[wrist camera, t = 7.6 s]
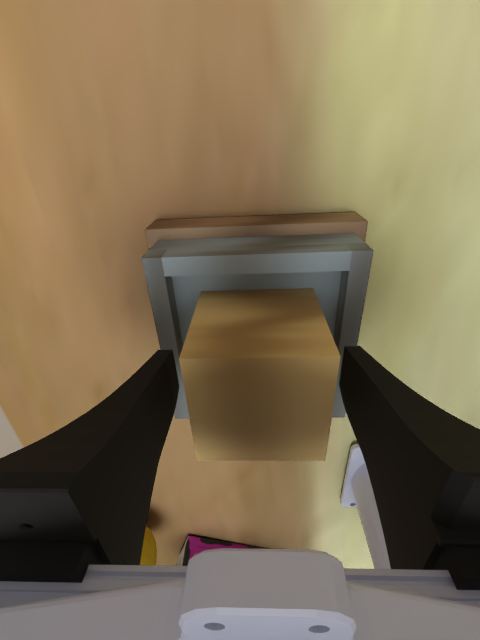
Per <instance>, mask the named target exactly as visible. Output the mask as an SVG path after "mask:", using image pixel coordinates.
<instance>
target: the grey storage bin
mask: <svg viewBox="0 0 480 640" xmlns="http://www.w3.org/2000/svg"><path fill="white" fill-rule="evenodd" d="M367 224H368V221H367V220H366V219H364V218H363V217H361V216H360V215H359V214H357V213H356V212H336V213H311V214H286V215H260V216H235V217H210V218H185V219H160V220H155V221H154V222H153V223H152V224H151V225H150V226H149V227H147V228H146V229H145V233H146V238H147V243H148V248H149V250H148V251H147V253H146V254H145V255H144V256H143V257H142V258H141V259H142V264H143V269H144V273H145V278H146V283H147V287H148V292H149V297H150V302H151V306H152V311H153V316H154V321H155V325H156V330H157V335H158V339H159V344H160V349H161V350H173V354H174V360H175V365H176V370H177V375H178V381H179V392H178V398H177V403H176V408H175V411H174V415H175V419H190V418H189V413H188V407H187V401H186V396H185V390H184V384H183V379H182V373H181V367H180V361H179V357H180V354H181V351H182V348H183V345H184V342H185V339H186V336H187V333H188V330H189V327H190V324H191V320H192V317H193V314H194V311H195V308H196V305H197V302H198V299H199V296H200V293H201V291H222V290H260V289H299V288H313V289H314V292H315V294H316V297H317V299H318V302H319V304H320V307H321V309H322V312H323V314H324V317H325V319H326V322H327V324H328V327H329V329H330V332H331V334H332V337H333V339H334V341H335V344H336V346H337V349H338V351H339V354H340V356H341V357H340V363H339V370H338V377H337V384H336V391H335V397H334V404H333V411H332V417H345V412H346V410H345V407H344V404H343V400H342V396H341V392H340V387H339V379H340V373H341V366H342V359H343V352H344V346H357V342H358V336H359V331H360V325H361V319H362V313H363V307H364V302H365V296H366V290H367V284H368V279H369V273H370V267H371V261H372V255H373V250H372V249H371V248H370V247H369V246H368V245H367V244H366V243H365V236H366V230H367Z"/></svg>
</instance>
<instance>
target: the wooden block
mask: <svg viewBox="0 0 480 640" xmlns="http://www.w3.org/2000/svg"><path fill="white" fill-rule="evenodd" d="M340 357H341V356H340V354H339V351H338V349H337V346H336V344H335V341H334V339H333V337H332V334H331V332H330V329H329V327H328V324H327V322H326V319H325V317H324V314H323V312H322V309H321V307H320V304H319V302H318V299H317V297H316V294H315V292H314V289H313V288H299V289H260V290H222V291H201V293H200V296H199V299H198V302H197V305H196V308H195V311H194V314H193V317H192V320H191V324H190V327H189V330H188V333H187V336H186V339H185V342H184V345H183V348H182V351H181V354H180V357H179V361H180V367H181V373H182V379H183V384H184V390H185V396H186V401H187V407H188V413H189V418H190V424H191V430H192V436H193V441H194V447H195V453H196V458H197V460H325V459H326V452H327V445H328V438H329V431H330V425H331V418H332V411H333V404H334V397H335V391H336V384H337V377H338V370H339V363H340Z"/></svg>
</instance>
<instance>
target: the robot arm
mask: <svg viewBox="0 0 480 640" xmlns="http://www.w3.org/2000/svg"><path fill="white" fill-rule="evenodd" d="M339 387H340V392H341V396H342V400H343V404H344V407H345V410H346V413H347V415H348V418H349V421H350V423H351V426H352V429H353V431H354V434H355V436H356V439H357V441H358V444H354V445H353V446H352V447H351V449H350V454H349V459H348V464H347V469H346V474H345V479H344V484H343V489H342V494H341V499H340V502H341V505H342V506H343V507H356V508H358V512H359V515H360V519H361V522H362V526H363V529H364V533H365V536H366V540H367V543H368V547H369V550H370V554H371V557H372V561H373V564H374V568H375V569H344V568H343V565H342V562H341V561H340V560H338V559H337V558H335V557H334V556H332V555H330V554H328V553H326V552H322V551H315V550H308V549H240V548H220V549H211V550H204V551H202V552H200V553H199V554H197V555H195V556H193V557H192V558H191V559H190V560H189V562H188V566H152V565H140V561H141V554H142V547H143V541H144V535H145V529H146V523H147V517H148V512H149V507H150V501H151V496H152V491H153V486H154V481H155V476H156V472H157V467H158V463H159V459H160V456H161V452H162V449H163V446H164V443H165V440H166V437H167V434H168V430H169V427H170V424H171V421H172V418H173V415H174V411H175V408H176V403H177V398H178V392H179V381H178V375H177V370H176V365H175V360H174V354H173V350H158V351H157V352H156V353H155V354H154V355H153V356H152V357H151V358H150V359H149V360H148V361H147V362H146V363H145V364H144V365H143V366H142V367H141V368H140V369H139V370H138V371H137V372H136V373H134V374H133V375H132V376H131V377H130V378H129V379H128V380H127V381H126V382H125V383H124V384H122V385H121V386H120V387H119V388H118V389H117V390H116V391H114V392H113V393H112V394H111V395H110V396H108V397H107V398H106V399H105V400H103V401H102V402H101V403H99V404H98V405H96V406H95V407H94V408H92V409H91V410H90V411H88V412H87V413H85V414H83V415H82V416H80V417H79V418H77V419H76V420H74V421H72V422H71V423H69V424H68V425H66V426H64V427H63V428H61V429H59V430H57V431H56V432H54V433H52V434H50V435H48V436H46V437H44V438H43V439H41V440H39V441H37V442H35V443H33V444H31V445H29V446H26V447H24V448H22V449H20V450H18V451H16V452H13V453H11V454H9V455H7V456H5V457H3V458H0V640H480V429H478V428H476V427H474V426H472V425H470V424H468V423H466V422H464V421H462V420H460V419H458V418H457V417H455V416H453V415H451V414H449V413H448V412H446V411H444V410H442V409H441V408H439V407H438V406H436V405H434V404H433V403H431V402H430V401H428V400H427V399H425V398H424V397H422V396H421V395H419V394H418V393H416V392H415V391H414V390H412V389H411V388H409V387H408V386H407V385H405V384H404V383H403V382H401V381H400V380H399V379H398V378H396V377H395V376H394V375H393V374H391V373H390V372H389V371H388V370H387V369H385V368H384V367H383V366H382V365H381V364H380V363H378V362H377V361H376V360H375V359H374V358H373V357H372V356H370V355H369V354H368V353H367V352H366V351H365V350H364V349H362V348H361V347H360V346H344V352H343V359H342V366H341V373H340V379H339Z"/></svg>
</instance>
